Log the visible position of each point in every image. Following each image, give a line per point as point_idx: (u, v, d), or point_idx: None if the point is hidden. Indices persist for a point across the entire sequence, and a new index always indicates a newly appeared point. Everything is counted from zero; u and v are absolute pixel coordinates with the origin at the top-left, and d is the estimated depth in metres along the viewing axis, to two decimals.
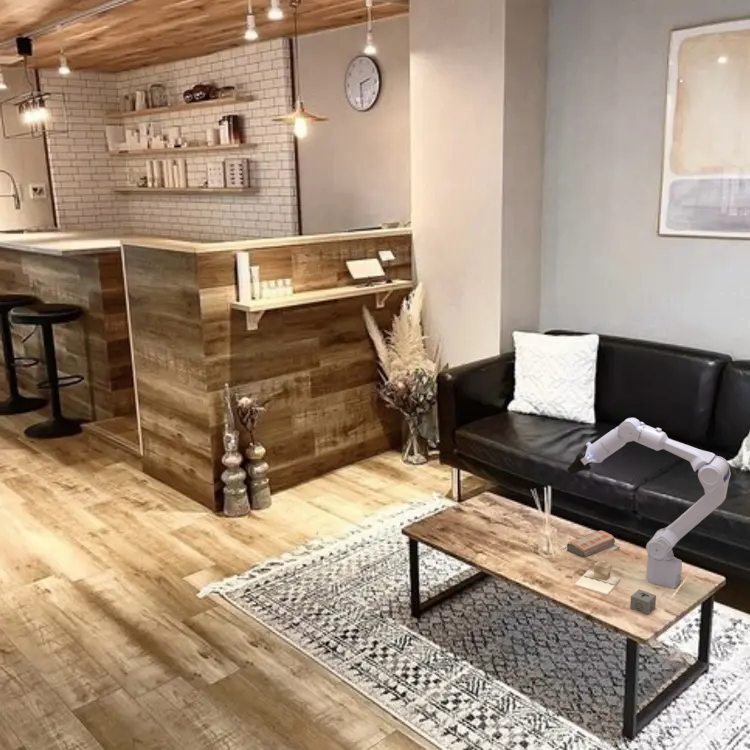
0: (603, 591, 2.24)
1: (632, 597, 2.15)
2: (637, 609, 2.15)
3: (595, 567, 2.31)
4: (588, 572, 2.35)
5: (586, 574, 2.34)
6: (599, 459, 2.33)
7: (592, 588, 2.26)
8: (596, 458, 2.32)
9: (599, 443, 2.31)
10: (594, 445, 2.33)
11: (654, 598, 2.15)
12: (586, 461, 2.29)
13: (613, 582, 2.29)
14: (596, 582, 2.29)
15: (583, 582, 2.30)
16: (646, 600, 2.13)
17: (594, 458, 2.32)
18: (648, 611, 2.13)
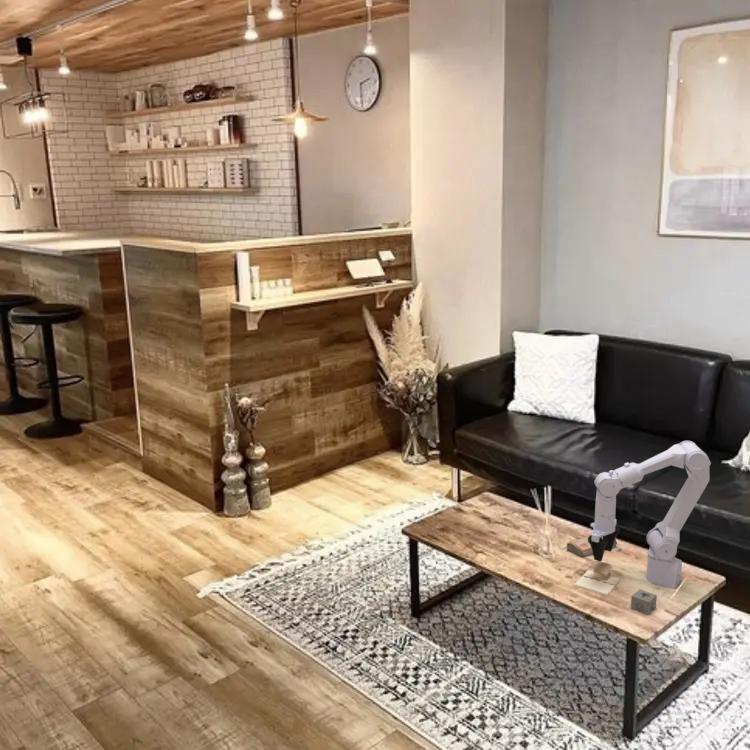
0: (603, 591, 2.24)
1: (633, 597, 2.15)
2: (638, 609, 2.15)
3: (595, 567, 2.31)
4: (588, 572, 2.35)
5: (586, 574, 2.34)
6: (609, 529, 2.26)
7: (592, 588, 2.26)
8: (605, 530, 2.26)
9: (596, 516, 2.27)
10: (595, 521, 2.28)
11: (655, 598, 2.15)
12: (596, 538, 2.23)
13: (613, 582, 2.29)
14: (596, 582, 2.29)
15: (583, 582, 2.30)
16: (647, 600, 2.13)
17: (604, 531, 2.26)
18: (648, 611, 2.13)
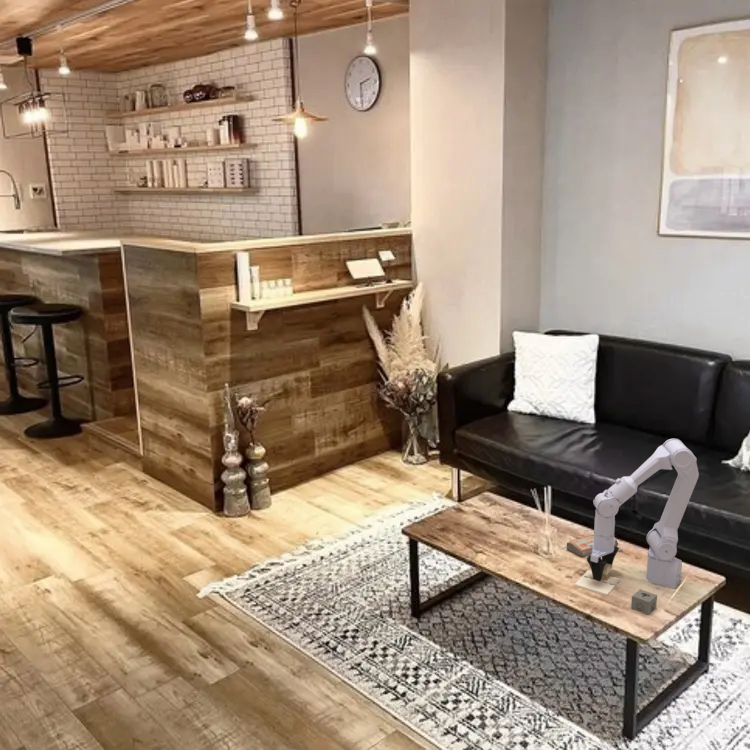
0: (603, 591, 2.24)
1: (633, 597, 2.15)
2: (638, 609, 2.15)
3: None
4: (588, 572, 2.35)
5: (586, 574, 2.34)
6: (608, 549, 2.27)
7: (592, 588, 2.26)
8: (604, 550, 2.27)
9: (595, 536, 2.29)
10: (594, 541, 2.29)
11: (655, 598, 2.15)
12: (595, 558, 2.24)
13: (613, 582, 2.29)
14: (596, 582, 2.29)
15: (583, 582, 2.30)
16: (647, 600, 2.13)
17: (603, 551, 2.27)
18: (649, 611, 2.13)
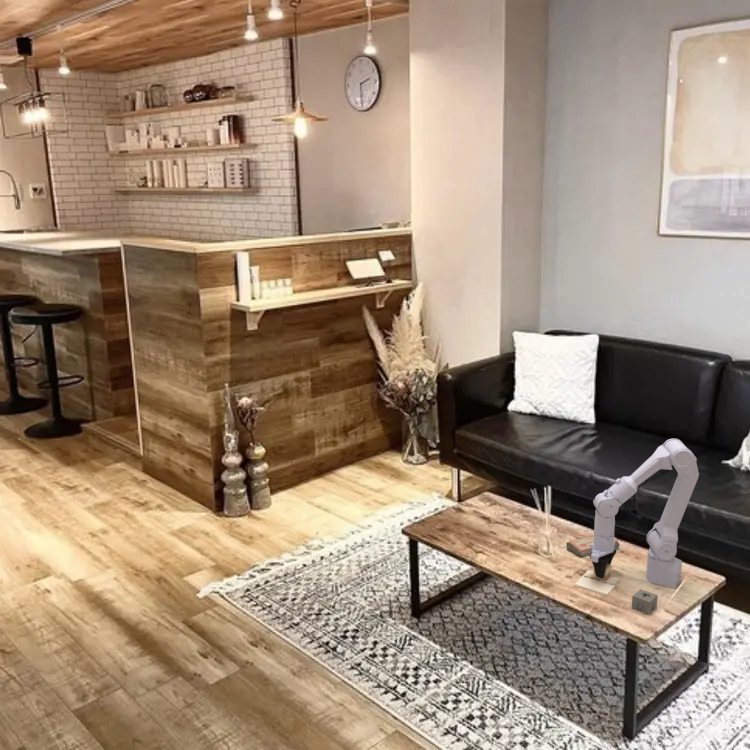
0: (603, 591, 2.24)
1: (633, 597, 2.15)
2: (638, 609, 2.15)
3: None
4: (588, 572, 2.35)
5: (586, 574, 2.34)
6: (608, 549, 2.27)
7: (592, 588, 2.26)
8: (604, 550, 2.27)
9: (595, 536, 2.29)
10: (594, 541, 2.29)
11: (655, 598, 2.15)
12: (595, 558, 2.24)
13: (613, 582, 2.29)
14: (596, 582, 2.29)
15: (583, 582, 2.30)
16: (647, 600, 2.13)
17: (603, 551, 2.27)
18: (649, 611, 2.13)
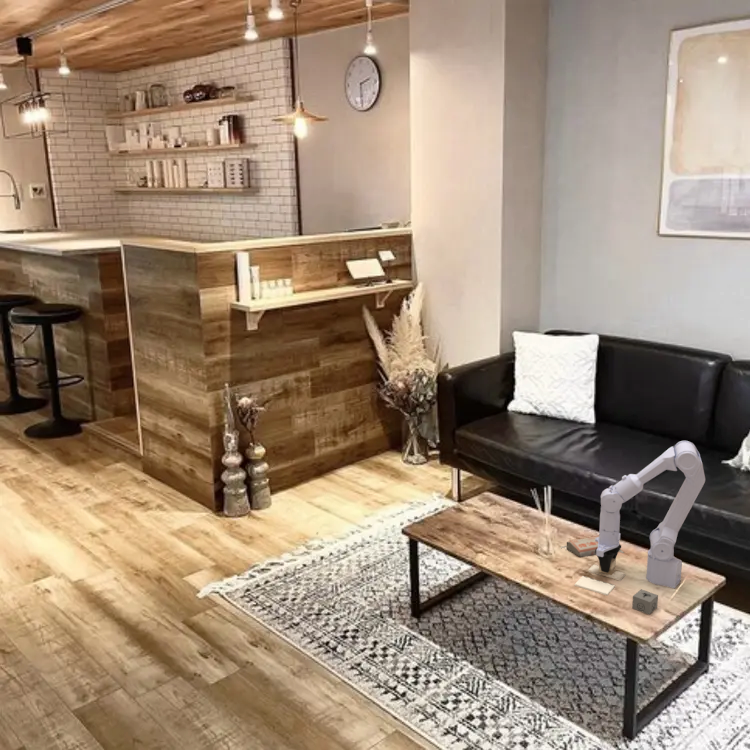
0: (603, 591, 2.24)
1: (634, 597, 2.15)
2: (639, 609, 2.15)
3: None
4: (593, 567, 2.38)
5: (591, 569, 2.37)
6: (613, 544, 2.31)
7: (592, 588, 2.26)
8: (610, 545, 2.31)
9: (601, 530, 2.32)
10: (599, 536, 2.33)
11: (656, 598, 2.15)
12: (600, 552, 2.28)
13: (618, 576, 2.32)
14: (596, 582, 2.29)
15: (583, 582, 2.30)
16: (648, 600, 2.13)
17: (608, 546, 2.31)
18: (650, 611, 2.13)
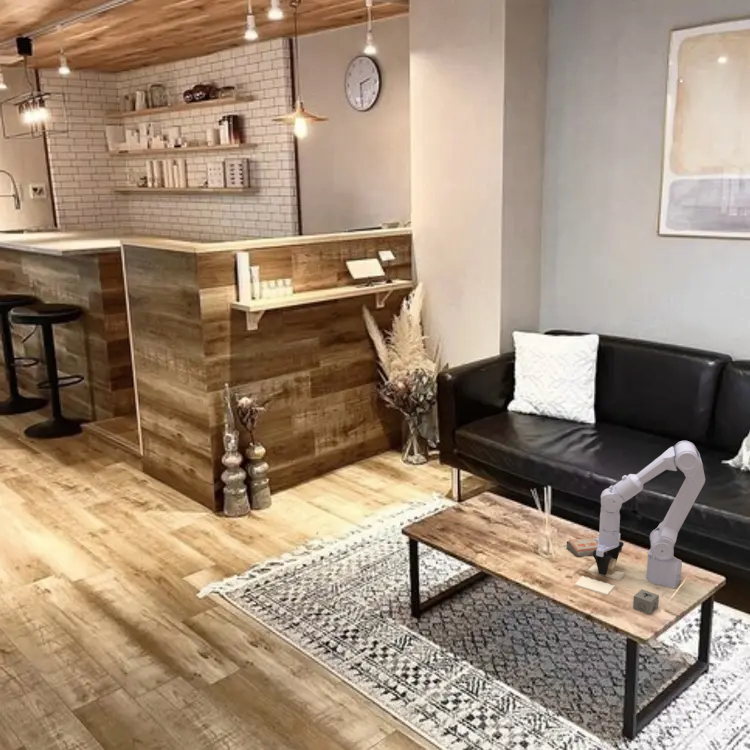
0: (603, 591, 2.24)
1: (635, 597, 2.15)
2: (640, 609, 2.15)
3: None
4: (593, 567, 2.38)
5: (591, 569, 2.37)
6: (613, 544, 2.31)
7: (592, 588, 2.26)
8: (610, 545, 2.31)
9: (601, 530, 2.32)
10: (599, 535, 2.33)
11: (657, 598, 2.15)
12: (600, 552, 2.28)
13: (618, 576, 2.32)
14: (596, 582, 2.29)
15: (583, 582, 2.30)
16: (649, 600, 2.13)
17: (608, 546, 2.31)
18: (651, 611, 2.13)
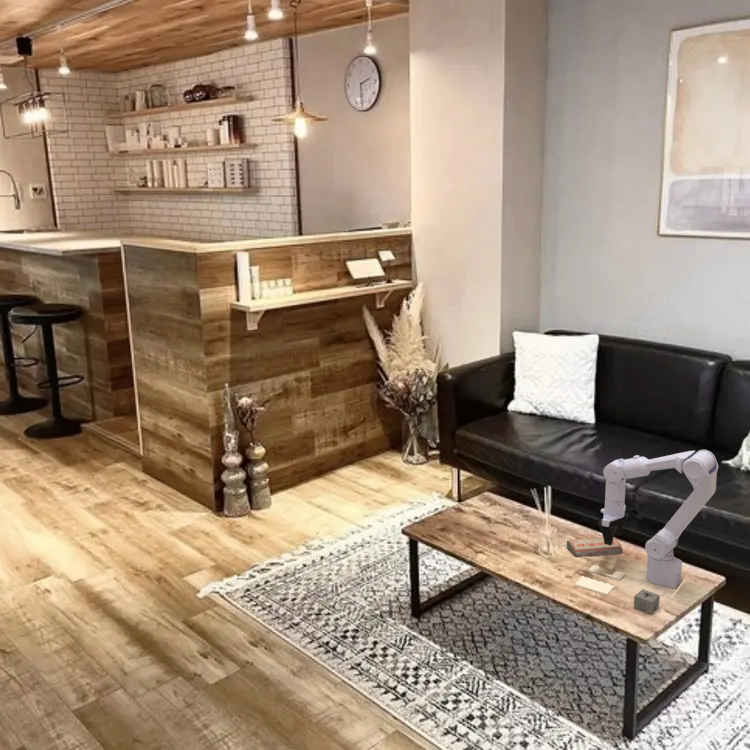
0: (603, 591, 2.24)
1: (636, 597, 2.15)
2: (640, 609, 2.15)
3: (600, 562, 2.35)
4: (593, 567, 2.38)
5: (591, 569, 2.37)
6: (618, 514, 2.34)
7: (592, 588, 2.26)
8: (615, 515, 2.34)
9: (606, 501, 2.35)
10: (605, 506, 2.36)
11: (658, 598, 2.15)
12: (606, 522, 2.31)
13: (618, 576, 2.32)
14: (596, 582, 2.29)
15: (583, 582, 2.30)
16: (650, 600, 2.13)
17: (614, 516, 2.34)
18: (651, 611, 2.13)
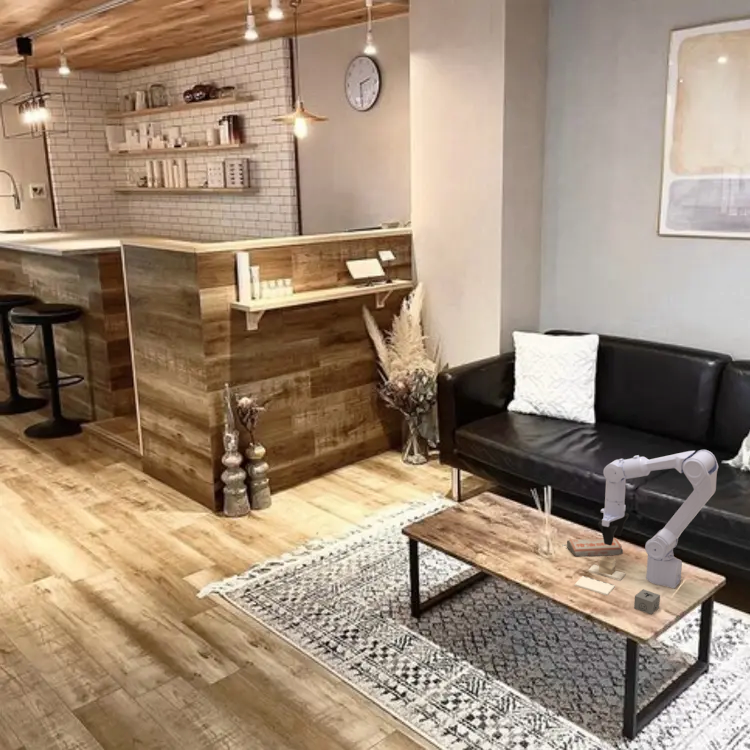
0: (603, 591, 2.24)
1: (636, 597, 2.15)
2: (641, 609, 2.15)
3: (600, 562, 2.35)
4: (593, 567, 2.38)
5: (591, 569, 2.37)
6: (618, 514, 2.34)
7: (592, 588, 2.26)
8: (615, 515, 2.34)
9: (606, 501, 2.35)
10: (605, 506, 2.36)
11: (658, 598, 2.15)
12: (606, 522, 2.31)
13: (618, 576, 2.32)
14: (596, 582, 2.29)
15: (583, 582, 2.30)
16: (650, 600, 2.13)
17: (614, 516, 2.34)
18: (652, 611, 2.13)
